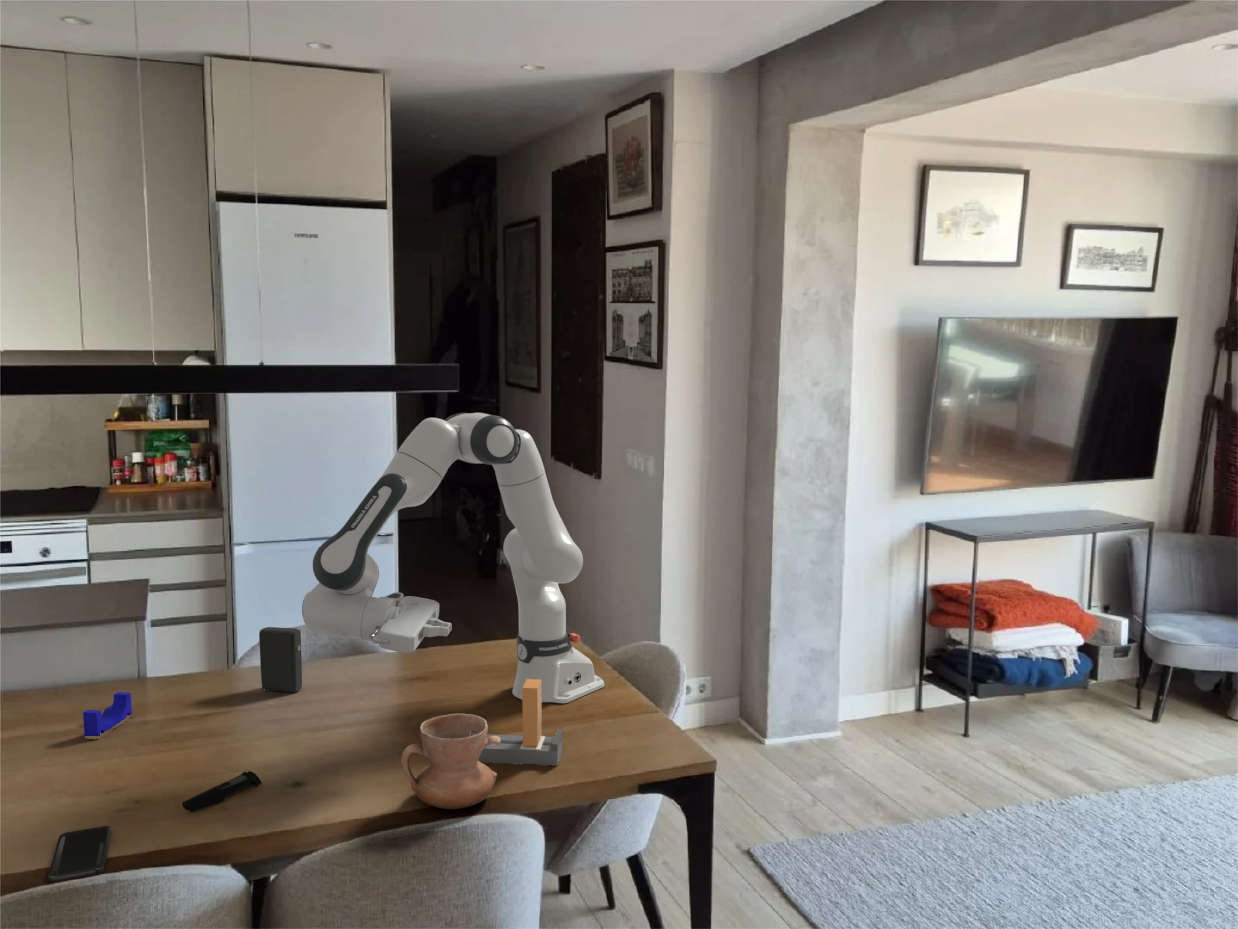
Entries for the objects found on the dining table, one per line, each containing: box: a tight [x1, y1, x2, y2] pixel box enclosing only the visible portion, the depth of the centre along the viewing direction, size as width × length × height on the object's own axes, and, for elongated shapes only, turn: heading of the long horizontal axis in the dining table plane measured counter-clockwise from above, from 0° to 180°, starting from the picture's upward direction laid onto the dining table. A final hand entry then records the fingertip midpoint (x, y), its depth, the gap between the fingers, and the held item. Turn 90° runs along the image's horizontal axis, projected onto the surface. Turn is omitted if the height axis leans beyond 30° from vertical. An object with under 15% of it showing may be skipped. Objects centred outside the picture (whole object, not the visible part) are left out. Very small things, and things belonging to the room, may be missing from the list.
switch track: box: [471, 729, 563, 767], centre depth 203 cm, size 20×7×4 cm, turn 85°
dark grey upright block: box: [258, 626, 303, 693], centre depth 238 cm, size 9×4×15 cm, turn 82°
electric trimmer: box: [181, 770, 262, 813], centre depth 185 cm, size 4×16×3 cm, turn 148°
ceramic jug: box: [400, 713, 501, 810], centre depth 184 cm, size 18×14×14 cm
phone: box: [47, 825, 112, 883], centre depth 165 cm, size 8×1×15 cm
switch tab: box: [521, 679, 543, 746], centre depth 202 cm, size 3×5×12 cm, turn 175°
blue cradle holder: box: [82, 691, 133, 737], centre depth 216 cm, size 12×4×6 cm, turn 173°
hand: (449, 629), depth 202 cm, fingers closed
